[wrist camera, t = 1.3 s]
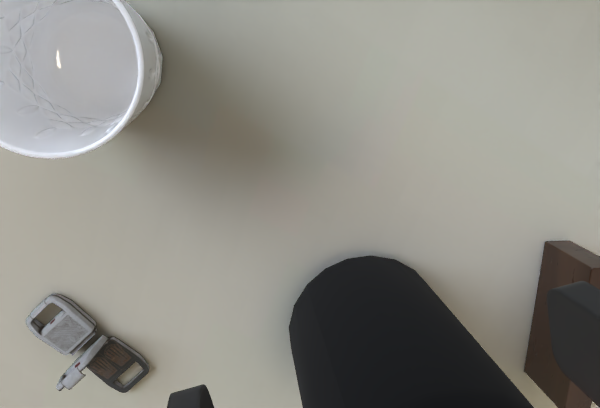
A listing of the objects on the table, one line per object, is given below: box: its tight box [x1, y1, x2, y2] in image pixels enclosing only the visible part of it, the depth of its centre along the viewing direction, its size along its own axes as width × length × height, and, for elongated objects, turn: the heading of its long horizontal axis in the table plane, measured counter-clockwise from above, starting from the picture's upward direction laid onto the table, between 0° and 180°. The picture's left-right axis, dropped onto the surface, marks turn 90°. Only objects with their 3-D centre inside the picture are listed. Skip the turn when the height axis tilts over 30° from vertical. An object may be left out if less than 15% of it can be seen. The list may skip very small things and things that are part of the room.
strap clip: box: [26, 294, 149, 393], centre depth 32 cm, size 8×3×4 cm, turn 42°
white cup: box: [0, 0, 163, 159], centre depth 24 cm, size 8×8×10 cm
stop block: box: [524, 241, 600, 408], centre depth 35 cm, size 2×11×5 cm, turn 179°
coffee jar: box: [289, 256, 534, 408], centre depth 27 cm, size 11×11×18 cm
